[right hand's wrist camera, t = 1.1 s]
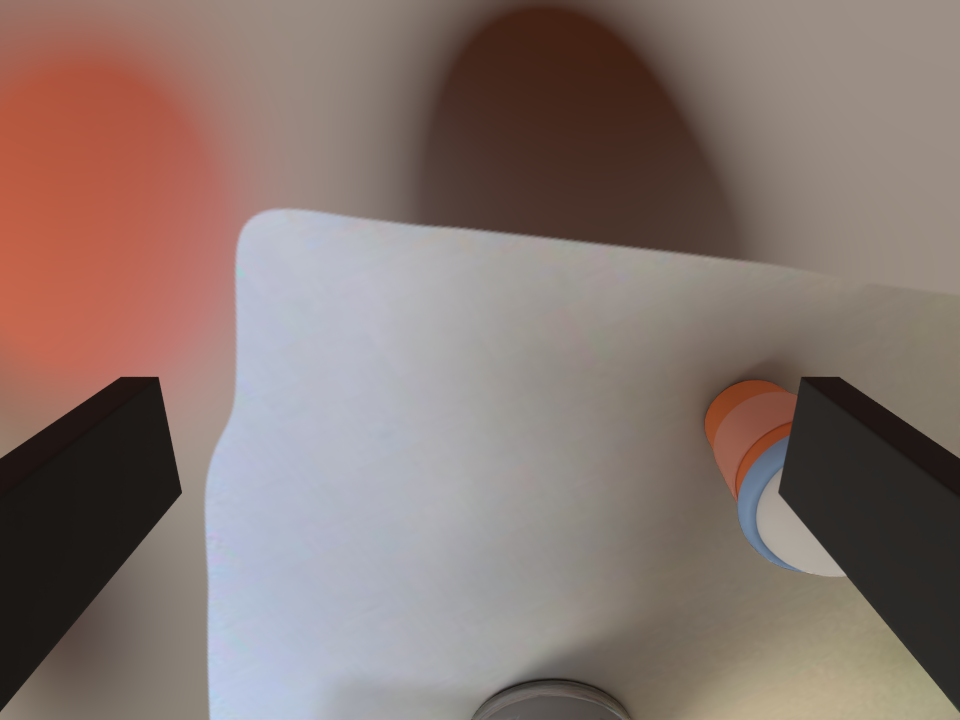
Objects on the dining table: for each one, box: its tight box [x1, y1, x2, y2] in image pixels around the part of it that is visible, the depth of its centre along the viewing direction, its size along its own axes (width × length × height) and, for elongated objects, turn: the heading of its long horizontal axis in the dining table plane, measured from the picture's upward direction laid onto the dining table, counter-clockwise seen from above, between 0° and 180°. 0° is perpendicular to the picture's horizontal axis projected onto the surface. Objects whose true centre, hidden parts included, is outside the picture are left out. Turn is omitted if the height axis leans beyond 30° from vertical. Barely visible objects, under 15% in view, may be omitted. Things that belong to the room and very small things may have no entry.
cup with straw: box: [705, 380, 847, 577], centre depth 34 cm, size 9×9×18 cm
